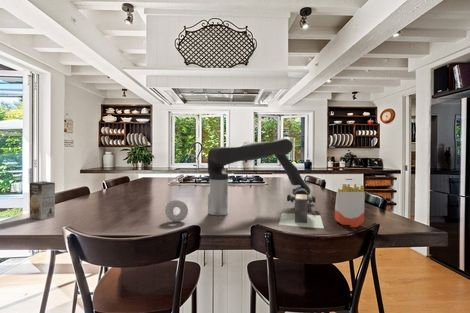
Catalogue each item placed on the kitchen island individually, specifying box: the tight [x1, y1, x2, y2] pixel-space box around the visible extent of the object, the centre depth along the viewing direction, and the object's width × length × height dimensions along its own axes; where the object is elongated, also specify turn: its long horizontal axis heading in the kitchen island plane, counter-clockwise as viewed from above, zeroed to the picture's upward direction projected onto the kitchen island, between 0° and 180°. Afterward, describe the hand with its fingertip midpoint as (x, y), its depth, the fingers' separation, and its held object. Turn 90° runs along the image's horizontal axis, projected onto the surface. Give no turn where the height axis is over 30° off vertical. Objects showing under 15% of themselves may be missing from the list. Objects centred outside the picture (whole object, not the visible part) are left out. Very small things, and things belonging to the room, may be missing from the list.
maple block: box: [294, 194, 309, 223], centre depth 124 cm, size 5×14×10 cm, turn 166°
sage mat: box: [278, 212, 325, 229], centre depth 122 cm, size 18×22×1 cm
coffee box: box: [29, 181, 56, 221], centre depth 125 cm, size 9×6×16 cm
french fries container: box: [334, 183, 366, 228], centre depth 117 cm, size 5×11×18 cm, turn 91°
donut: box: [164, 198, 189, 223], centre depth 120 cm, size 10×4×10 cm, turn 89°
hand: (301, 200), depth 136 cm, fingers open, 8 cm apart
